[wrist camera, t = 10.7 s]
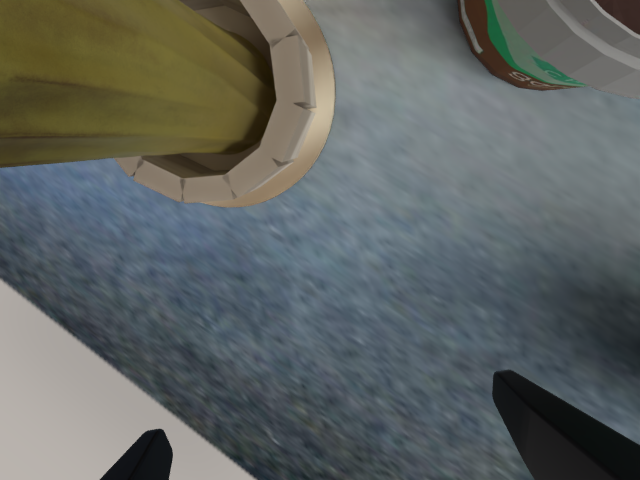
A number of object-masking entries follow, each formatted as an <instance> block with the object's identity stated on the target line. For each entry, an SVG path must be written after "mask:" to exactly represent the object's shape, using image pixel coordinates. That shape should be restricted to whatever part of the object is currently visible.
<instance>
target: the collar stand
mask: <svg viewBox="0 0 640 480" xmlns="http://www.w3.org/2000/svg"><path fill="white" fill-rule="evenodd" d="M179 1H180V2H182V3H183V4H185V5H186V6H188V7H189V8H191V9H192V10H194V11H195V12H197V13H199V14H200V15H202V16H204V17H206V18H207V19H209V20H210V21H212V22H213V23H215V24H216V25H218V26H220V27H222V28H223V29H225V30H227V31H231V32H234V33H237V34H238V35H240V36H242V37H244V38H245V39H247V40H248V41H249V42H251V43H252V44H253V45H254V46H255V47H256V48H257V49H258V50H259V51H260V52H261V53H262V54H263V56H264V58H265V59H266V61H267V63H268V65H269V67H270V70H271V72H272V75H273V77H274V83H275V91H276V99H277V100H276V104H275V106H274V109H273V112H272V114H271V117H270V120H269V122H268V125H267V128H266V131H265V133H264V136H263V138H262V139H261V140H260V141H259V142H258V143H257V144H255V145H253V146H252V147H250V148H248V149H246V150H245V151H243V152H240V153H238V154H232V155H221V154H213V153H189V152H188V153H179V154H169V155H143V156H135V157H125V158H114V159H115V160H116V162H117V163H118V164H119V165H120V166H121V168H122V169H123V170H124V171H125V173H126V174H127V175H128V176H129V177H130V176H134V181H136V182H138V183H140V184H142V185H144V186H146V187H148V188H150V189H152V190H154V191H157V192H159V193H161V194H163V195H165V196H167V197H169V198H171V199H173V200H175V201H177V202H182V201H184V203H197V202H201V203H205V204H209V205H212V206H220V207H243V206H250V205H254V204H258V203H261V202H265V201H267V200H269V199H271V198H274V197H276V196H277V195H279V194H281V193H282V192H284V191H285V190H287V189H289V188H290V187H292V186H293V185H294V184H295V183H296V182H298V181H299V180H300V179H301V178H302V177H303V176H304V175H305V174H306V173H307V172H308V171H309V169H310V168H311V167H312V166H313V164H314V163H315V161H316V160H317V158H318V157H319V155H320V153H321V151H322V149H323V147H324V145H325V143H326V141H327V138H328V135H329V132H330V130H331V125H332V121H333V117H334V110H335V100H336V88H335V76H334V69H333V63H332V60H331V56H330V52H329V49H328V46H327V44H326V41H325V39H324V36H323V34H322V31H321V29H320V27H319V25H318V24H317V22H316V20H315V18H314V16H313V15H312V13H311V11H310V10H309V9H308V7H307V6H306V4H305V3H304V2H303V0H179Z"/></svg>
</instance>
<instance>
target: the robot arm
mask: <svg viewBox="0 0 640 480" xmlns="http://www.w3.org/2000/svg"><path fill="white" fill-rule="evenodd" d="M492 396H493V400H494V403H495V405H496V407H497V409H498V411H499V413H500V415H501V417H502V419H503V421H504V423H505V425H506V427H507V429H508V431H509V433H510V435H511V437H512V439H513V441H514V443H515V445H516V447H517V449H518V451H519V453H520V455H521V457H522V459H523V461H524V463H525V464H526V466H527V468H528V469H529V471H530V473H531V474H532V476H533V478H534V479H535V480H640V445H639V444H637V443H635V442H634V441H632V440H630V439H628V438H627V437H625V436H623V435H622V434H620V433H618V432H616V431H615V430H613V429H611V428H610V427H608V426H606V425H605V424H603V423H601V422H599V421H598V420H596V419H594V418H593V417H591V416H589V415H587V414H586V413H584V412H582V411H581V410H579V409H577V408H576V407H574V406H572V405H570V404H569V403H567V402H565V401H564V400H562V399H560V398H558V397H557V396H555V395H553V394H552V393H550V392H548V391H546V390H545V389H543V388H541V387H540V386H538V385H536V384H535V383H533V382H531V381H529V380H528V379H526V378H524V377H523V376H521V375H519V374H517V373H516V372H514V371H512V370H502V371H496V372H495V373H494V376H493V391H492ZM172 458H173V452H172V448H171V446H170V443H169V441H168V439H167V437H166V434H165V432H164V430H162V429H155V430H150V431H146V432H145V433H144V434H142V435H141V437H140V438H139V439H138V440H137V441H136V442H135V443H134V444H133V445H132V446H131V447H130V448H129V449H128V450H127V451H126V453H124V455H123V456H122V457H121V458H120V459H119V460H118V461H117V462H116V463H115V464H114V465H113V466H112V467H111V468H110V469H109V470H108V471H107V472H106V474H105V475H104V476H103V477H102V478H101V479H100V480H169V475H170V469H171V464H172Z"/></svg>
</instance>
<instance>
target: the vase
mask: <svg viewBox="0 0 640 480" xmlns="http://www.w3.org/2000/svg"><path fill="white" fill-rule="evenodd" d="M276 100H277V99H276V91H275V83H274V77H273V75H272V72H271V70H270V67H269V65H268V63H267V61H266V59H265V58H264V56H263V54H262V53H261V52H260V51H259V50H258V49H257V48H256V47H255V46H254V45H253V44H252V43H251V42H249V41H248V40H247V39H245V38H244V37H242V36H240V35H238V34H237V33H234V32H231V31H227V30H225V29H223V28H222V27H220V26H218V25H216V24H215V23H213V22H212V21H210V20H209V19H207V18H206V17H204V16H202V15H200V14H199V13H197V12H195V11H194V10H192V9H191V8H189V7H188V6H186V5H185V4H183V3H182V2H180V1H179V0H0V168H2V167H15V166H27V165H39V164H52V163H64V162H75V161H86V160H96V159H105V158H125V157H135V156H143V155H169V154H179V153H188V152H189V153H213V154H221V155H232V154H238V153H240V152H243V151H245V150H246V149H248V148H250V147H252V146H253V145H255V144H257V143H258V142H259V141H260V140H261V139H262V138H263V136H264V133H265V131H266V128H267V125H268V122H269V120H270V117H271V114H272V112H273V109H274V106H275V104H276Z"/></svg>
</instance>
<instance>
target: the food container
mask: <svg viewBox="0 0 640 480" xmlns="http://www.w3.org/2000/svg"><path fill="white" fill-rule="evenodd" d="M457 2H458V11H459V20H460V24H461V27H462V29H463V32H464V34H465V36H466V39H467V41H468V44H469V46H470V49H471V51H472V53H473V54H474V55H475V56H476V57H477V58H478V59H479V61H480V62H481V63H482V64H483V65H484V66H485V67H486V68H487V69H488V71H489V72H490V73H491V74H492V75H494V76H496V77H498V78H500V79H502V80H504V81H506V82H508V83H510V84H512V85H514V86H516V87H518V88H526V89H534V90H542V91H543V90H556V89H566V88H576V87H585V86H590V87H592V88H595V89H597V90H600V91H604V92H608V93H612V94H616V95H620V96H624V97H628V98H636V99H640V0H457Z"/></svg>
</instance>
